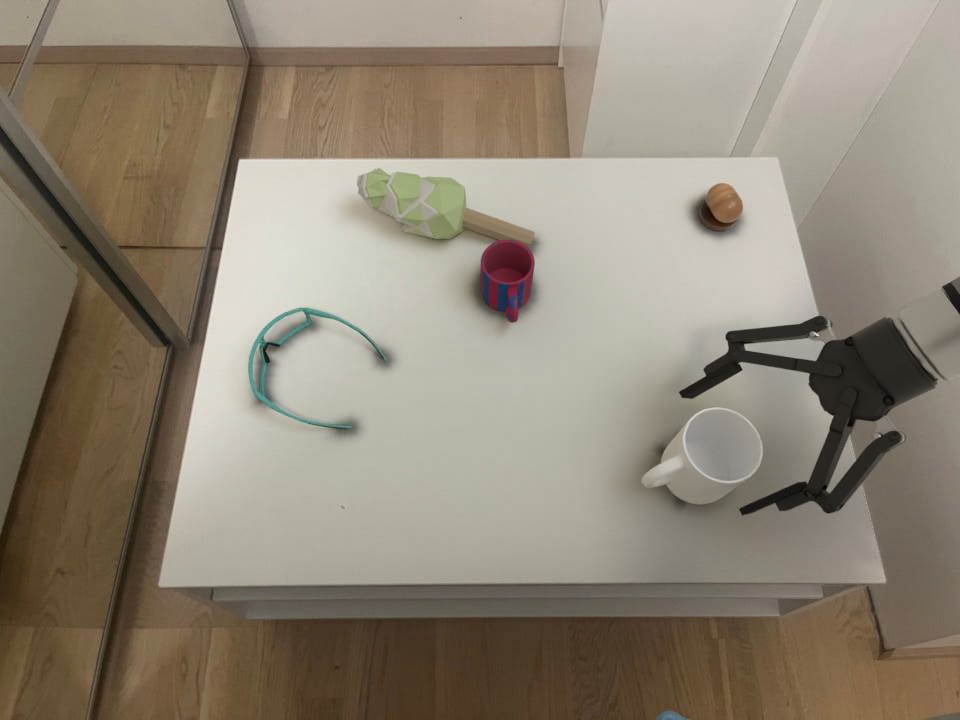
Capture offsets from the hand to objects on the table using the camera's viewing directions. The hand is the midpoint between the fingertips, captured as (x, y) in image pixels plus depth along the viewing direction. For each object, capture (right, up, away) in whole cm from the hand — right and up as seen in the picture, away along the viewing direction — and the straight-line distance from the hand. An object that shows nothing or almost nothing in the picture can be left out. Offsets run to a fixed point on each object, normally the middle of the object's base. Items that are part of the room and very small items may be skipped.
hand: (713, 451), depth 72 cm
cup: (-22, +18, +17) cm, 33 cm away
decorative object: (-30, +29, +22) cm, 47 cm away
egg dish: (+8, +30, +23) cm, 39 cm away
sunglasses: (-46, +8, +12) cm, 48 cm away
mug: (-2, -4, +7) cm, 8 cm away
